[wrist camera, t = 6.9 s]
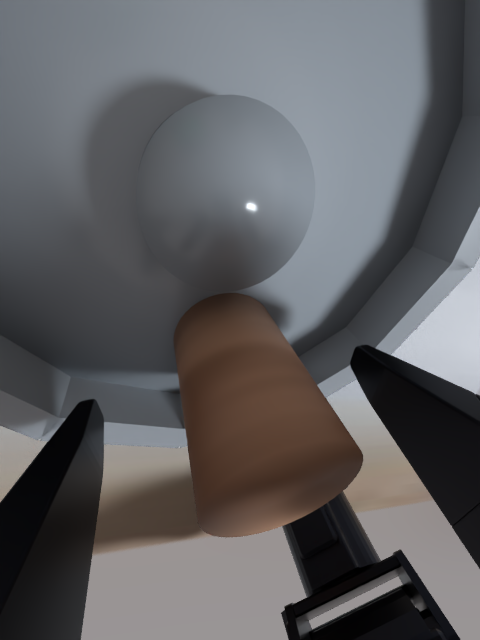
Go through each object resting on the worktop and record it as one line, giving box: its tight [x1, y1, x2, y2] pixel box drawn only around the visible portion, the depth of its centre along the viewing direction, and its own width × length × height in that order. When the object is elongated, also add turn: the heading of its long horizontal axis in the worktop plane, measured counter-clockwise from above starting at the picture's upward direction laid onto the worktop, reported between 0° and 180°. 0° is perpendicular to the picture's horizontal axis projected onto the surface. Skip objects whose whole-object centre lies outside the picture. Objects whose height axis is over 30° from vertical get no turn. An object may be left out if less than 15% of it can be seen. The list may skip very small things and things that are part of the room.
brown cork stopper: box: [174, 293, 363, 537], centre depth 9 cm, size 4×4×6 cm
